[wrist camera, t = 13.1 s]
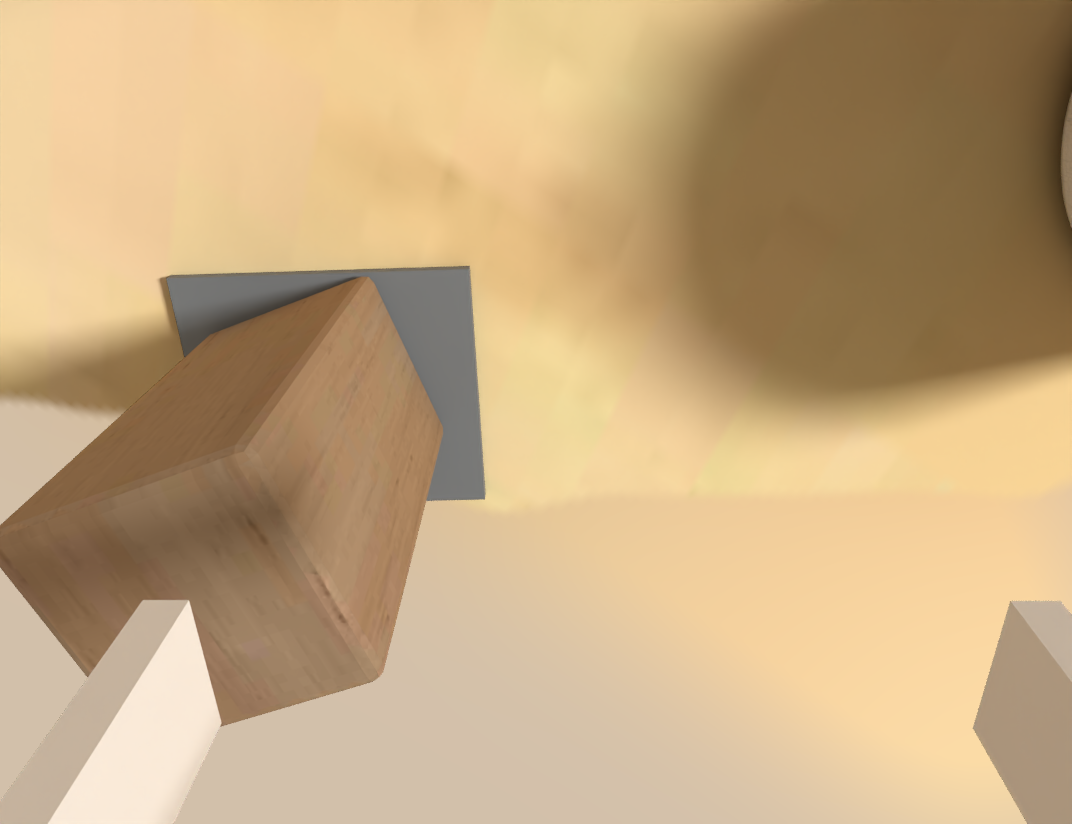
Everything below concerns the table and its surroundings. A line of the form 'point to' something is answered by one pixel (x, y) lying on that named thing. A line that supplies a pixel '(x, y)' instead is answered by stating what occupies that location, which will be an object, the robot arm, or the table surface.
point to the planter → (1067, 161)
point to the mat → (419, 317)
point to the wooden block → (248, 505)
